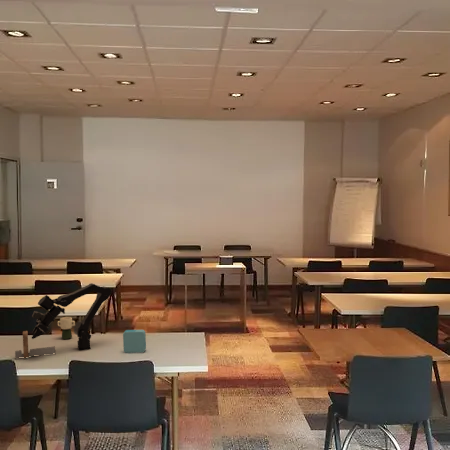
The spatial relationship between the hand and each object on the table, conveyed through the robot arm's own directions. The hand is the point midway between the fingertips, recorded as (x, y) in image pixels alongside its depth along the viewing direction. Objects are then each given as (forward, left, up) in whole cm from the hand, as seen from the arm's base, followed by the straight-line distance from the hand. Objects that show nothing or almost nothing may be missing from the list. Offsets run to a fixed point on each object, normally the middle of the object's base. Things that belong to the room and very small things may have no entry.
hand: (32, 336), depth 301 cm
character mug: (-20, -32, -11) cm, 40 cm away
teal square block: (-54, +15, -12) cm, 58 cm away
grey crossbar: (-1, 0, -11) cm, 11 cm away
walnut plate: (+4, 0, -11) cm, 12 cm away
